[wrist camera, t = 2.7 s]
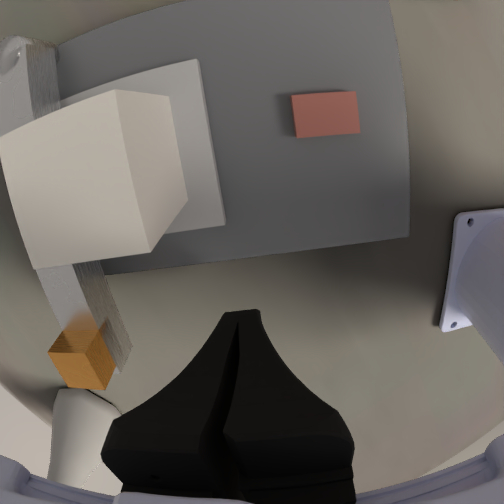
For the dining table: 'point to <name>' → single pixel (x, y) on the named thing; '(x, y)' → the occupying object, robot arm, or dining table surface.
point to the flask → (78, 435)
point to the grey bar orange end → (71, 275)
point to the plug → (115, 169)
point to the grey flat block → (274, 119)
